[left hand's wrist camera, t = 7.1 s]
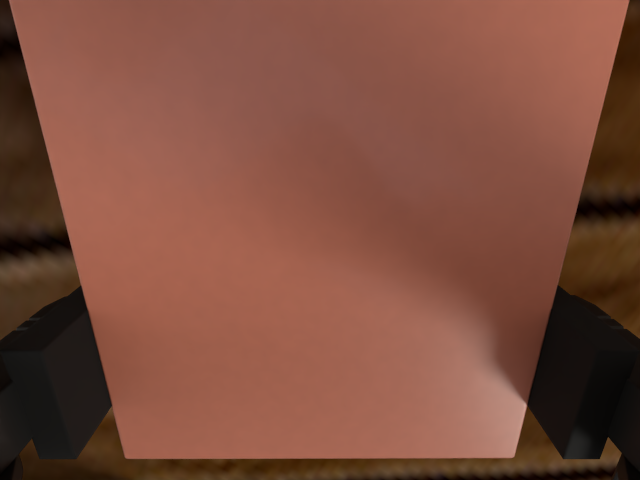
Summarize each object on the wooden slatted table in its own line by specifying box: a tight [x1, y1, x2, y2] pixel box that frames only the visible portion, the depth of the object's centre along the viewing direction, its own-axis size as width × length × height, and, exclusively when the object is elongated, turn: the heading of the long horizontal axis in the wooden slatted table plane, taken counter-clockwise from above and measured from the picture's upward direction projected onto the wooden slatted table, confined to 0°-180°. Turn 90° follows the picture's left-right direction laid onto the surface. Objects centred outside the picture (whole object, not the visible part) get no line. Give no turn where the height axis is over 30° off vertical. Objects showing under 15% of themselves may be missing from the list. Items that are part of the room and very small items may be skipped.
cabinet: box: [9, 0, 629, 459], centre depth 10 cm, size 21×10×9 cm, turn 0°
